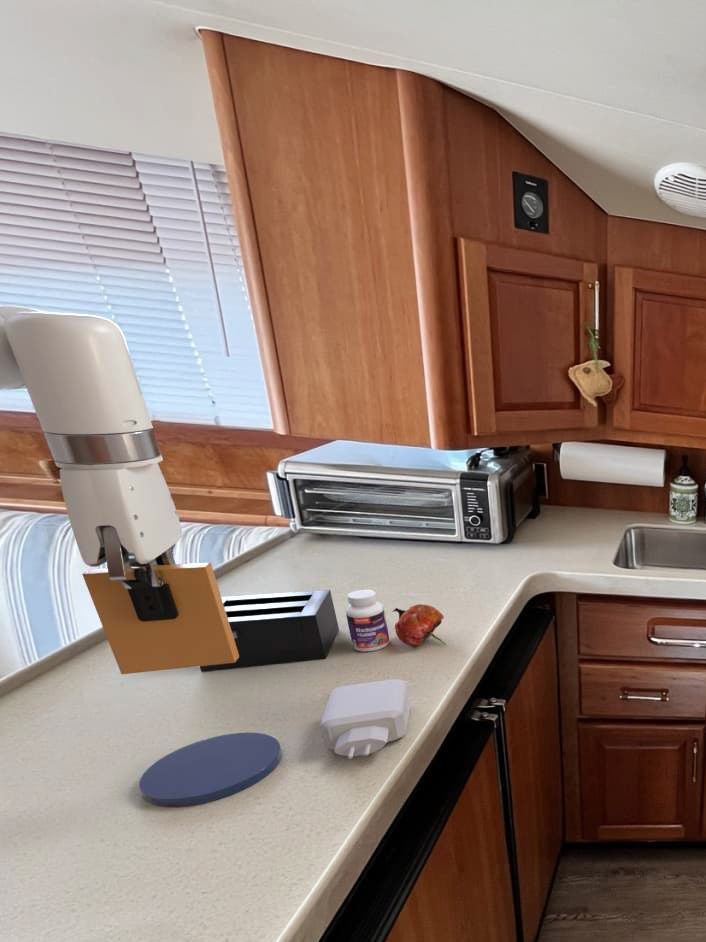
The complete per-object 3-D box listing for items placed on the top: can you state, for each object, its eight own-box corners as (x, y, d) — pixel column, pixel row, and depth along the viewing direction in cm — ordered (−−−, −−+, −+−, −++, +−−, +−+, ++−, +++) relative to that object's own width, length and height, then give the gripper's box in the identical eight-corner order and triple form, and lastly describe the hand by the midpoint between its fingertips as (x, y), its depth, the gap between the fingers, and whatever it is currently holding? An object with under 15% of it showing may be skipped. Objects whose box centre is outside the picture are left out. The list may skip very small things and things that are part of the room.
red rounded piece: (452, 644, 117) (407, 609, 115) (467, 622, 113) (421, 585, 112) (422, 666, 110) (374, 629, 109) (437, 643, 107) (387, 604, 105)
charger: (317, 780, 78) (336, 716, 91) (404, 764, 82) (411, 704, 95) (309, 748, 76) (329, 687, 89) (398, 733, 80) (406, 677, 93)
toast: (121, 674, 70) (81, 574, 66) (128, 667, 72) (89, 568, 67) (235, 662, 74) (205, 566, 70) (239, 656, 76) (210, 562, 71)
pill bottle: (358, 655, 106) (347, 602, 103) (349, 644, 110) (337, 592, 106) (394, 646, 110) (385, 595, 106) (384, 635, 113) (374, 585, 110)
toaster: (199, 674, 97) (183, 627, 94) (226, 640, 107) (213, 597, 104) (324, 661, 104) (314, 617, 101) (339, 630, 114) (330, 589, 111)
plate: (119, 817, 70) (116, 809, 70) (169, 750, 81) (166, 742, 81) (265, 793, 76) (262, 785, 75) (294, 732, 86) (292, 725, 86)
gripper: (97, 434, 68) (151, 591, 75) (2, 464, 55) (80, 650, 62) (187, 435, 71) (231, 586, 78) (118, 463, 58) (179, 641, 65)
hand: (164, 614), depth 70 cm, fingers closed on toast, 1 cm apart
